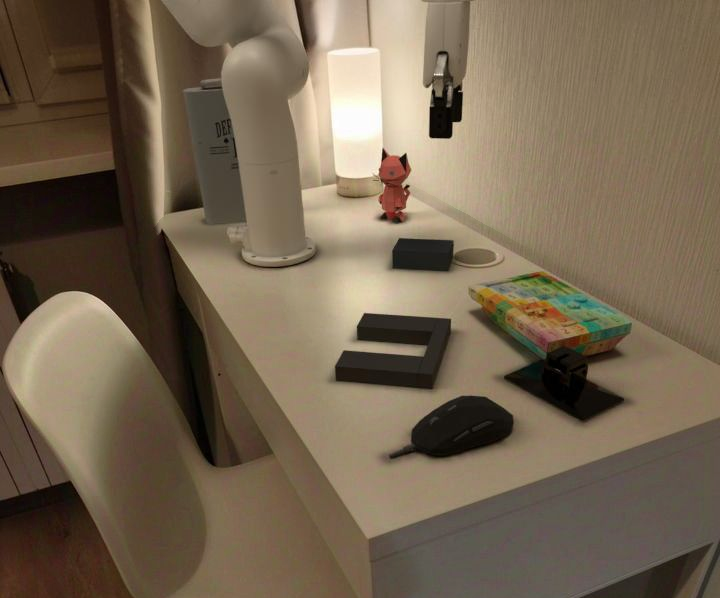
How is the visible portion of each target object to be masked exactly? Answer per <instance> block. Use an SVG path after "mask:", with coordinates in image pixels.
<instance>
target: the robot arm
mask: <svg viewBox="0 0 720 598" xmlns="http://www.w3.org/2000/svg"><path fill="white" fill-rule="evenodd" d="M473 1H475V0H421V2H423V3H427V8H426V16H425V29H424V46H423V47H424V50H423V67H422V69H423V72H422V85H423V87H424V88H425V89H429V88H430V87H431V93H430V94H431V95H430V101H429V112H428V113H429V115H428V116H429V117H428V137H429V138H430V139H437V140H439V139H440V140H441V139H442V140H443V139H444V140H450V139H451V138H452V137H453V129H454V123H461V122H462V120H463V105H464V104H463V103H464V91H463V86H464V85H463V80H464V79H465V77H466V74H467V69H468V67H467V66H468V58H469V57H468V56H469V40H470V24H471V23H470V21H471V20H470V19H471V2H473ZM160 2H162V4H163V5H164V6H165V8H166V9H167V11H168V12H169V13H170V14H171V15H172V17H174V20H176V21H177V23H178V24H179V25H180V27H181V28H182V29H183V31H184V32H185V33H186V34H187V35H188V36H189V37H190V39H191V40H192V41H193V42H195V43H196V44H198V45H200V46H202V47H207V48H215V47H220V46H223V45H226V44H228V46H230V48H231V49H230V50H229V52H228V53H227V55H226V56H225V59H224V61H223V64H222V68H221V72H222V74H221V73H220V76H221V77H220V78H221V82H222V83H221V86H222V90H223V94H224V98H225V101H226V105H227V108H228V111H229V115H230V119H231V123H232V127H233V132H234V138H235V144H236V151H237V158H238V163H239V170H240V177H241V184H242V191H243V199H244V206H245V213H246V220H247V221H246V224H247V225H245V226H244V227H240V226H228V227H227V230H226V234H227V237H228V241H229V242H230V243H242V244H243V245H244V246H243V247H242V249H241V256H242V259H243V260H244V261H245V262H247V263H248V264H250V265H254V266H257V267H265V268H266V267H268V268H276V267H286V266H292V265H297V264H300V263H302V262H303V263H304V262H306V261H308V260H310V259H311V258H313V256H314V255H315V254H316V252H317V243H316V242H315V241H314V240H313V239H312V238H310V237H308V236H306V225H305V224H306V223H305V213H304V201H303V194H302V193H303V192H302V182H301V171H300V161H299V151H298V140H297V133H296V128H295V123H294V119H293V116H292V113H291V110H290V109H291V108H290V105H289V101H290V99H292V98H294V97H296V96H297V95H298V94H300V92H301V91H302V90H303V89H304V87H305V86H306V85H307V82H308V78H309V74H310V61H309V57H308V53H307V51H306V49H305V47H304V45H303V42H302V41H301V40H300V38H299V37H298V35H297V33H296V32H295V31H294V30H293V28H292V27H291V25H290V24H289V23H288V21H287V20H286V19H285V17H284V16H283V15H282V13H281V12H280V11H279V10H278V8H277V7H276V5H275V4H274V3H273V1H272V0H160Z"/></svg>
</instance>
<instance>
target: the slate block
mask: <svg viewBox="0 0 720 598" xmlns="http://www.w3.org/2000/svg"><path fill="white" fill-rule="evenodd" d="M454 243H455V241H454V240H453V239H433V238H432V239H431V238H412V237H411V238H409V237H408V238H407V237H399V238H398V239H397V240H396V242H395V244H394V246H393V248H392V249H391V259H392V260H391V263H392V265H391V267H392V269H396V270H415V271H417V270H420V271H435V272H436V271H437V272H449V270H450V268H451V264H452V262H453V260H454V246H455V245H454Z"/></svg>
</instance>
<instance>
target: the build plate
mask: <svg viewBox="0 0 720 598" xmlns="http://www.w3.org/2000/svg"><path fill="white" fill-rule="evenodd" d="M588 359H589V358H588V355H587V356H585V355H582V354H580V353H578V352H576V351H574V350H572V349H570V348H568V347H566V346H562V347H560V348H557V349H555V350H553V351H551V352H548V353H547V354H546V359H544V360H543V359H542V358H540V359H539V360H537V361H535V362H532V363H530V364H528V365H526V366H523V367H521V368H519V369H517V370H514V371H512V372H510V373H507V374H505V375H503V380H505V381H506V382H508V383H510V384H512V385H513V386H516V387H517V388H519V389H521V390H523V391H524V392H526V393H528V394H530V395H532V396H533V397H536V398H537V399H539V400H541V401H542V402H545V403H546V404H548V405H550V406H551V407H554V408H555V409H557V410H559V411H561V412H562V413H564V414H566V415H568V416H569V417H571V418H573V419H575V420H577V421H579V422H581V423H585V422H586V421H589V420H591V419H593V418H595V417H596V416H599V415H601V414H602V413H605V412H606V411H608V410H611V409H612V408H614V407H616V406H618V405H620V404H622V403H624V401H625V397H622V396H620V395H618V394H616V393H614V392H613V391H610V390H608V389H606V388H604V387H603V386H600V385H599V384H597V383H594V382H592V381H591V380H590V379H589V380H588V379H587V378H588V374H589V373H588V372H589V364H587V363H588Z"/></svg>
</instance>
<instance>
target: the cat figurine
mask: <svg viewBox="0 0 720 598" xmlns="http://www.w3.org/2000/svg"><path fill="white" fill-rule="evenodd" d="M411 172H412V168H411V165H410V163H409V158H408V154H407V152H405V153H404V154H402V155H401V156H400V155H394V154H393V155H390V154H389V153H388V152H387V150H386V149H385V148H384V147H382V150H381V159H380V166H379V167H378V176H377V175H375V173H372V175H373V176H374V177H376V179H372V181H374V182H380V183H382V184H384V187H383V192H382V193H381V194H380V195H379V196H378V203H379V204H380V205H381V209H382V211H384V212H382V215H381V216H380V220H391V219H392V224H400V223H403V222H404V221H405V220H406V218H405V214H404V210H406V209H407V201H408V199H409V197H410V195H411V191H410V190H409V188H410V187H411V185H410V184H406V185H405V186H403V183H404V182H405V181H406V180H407V179H409V176H410V174H411Z"/></svg>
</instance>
